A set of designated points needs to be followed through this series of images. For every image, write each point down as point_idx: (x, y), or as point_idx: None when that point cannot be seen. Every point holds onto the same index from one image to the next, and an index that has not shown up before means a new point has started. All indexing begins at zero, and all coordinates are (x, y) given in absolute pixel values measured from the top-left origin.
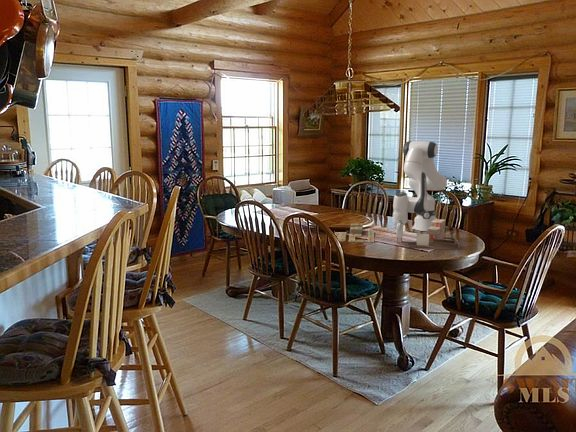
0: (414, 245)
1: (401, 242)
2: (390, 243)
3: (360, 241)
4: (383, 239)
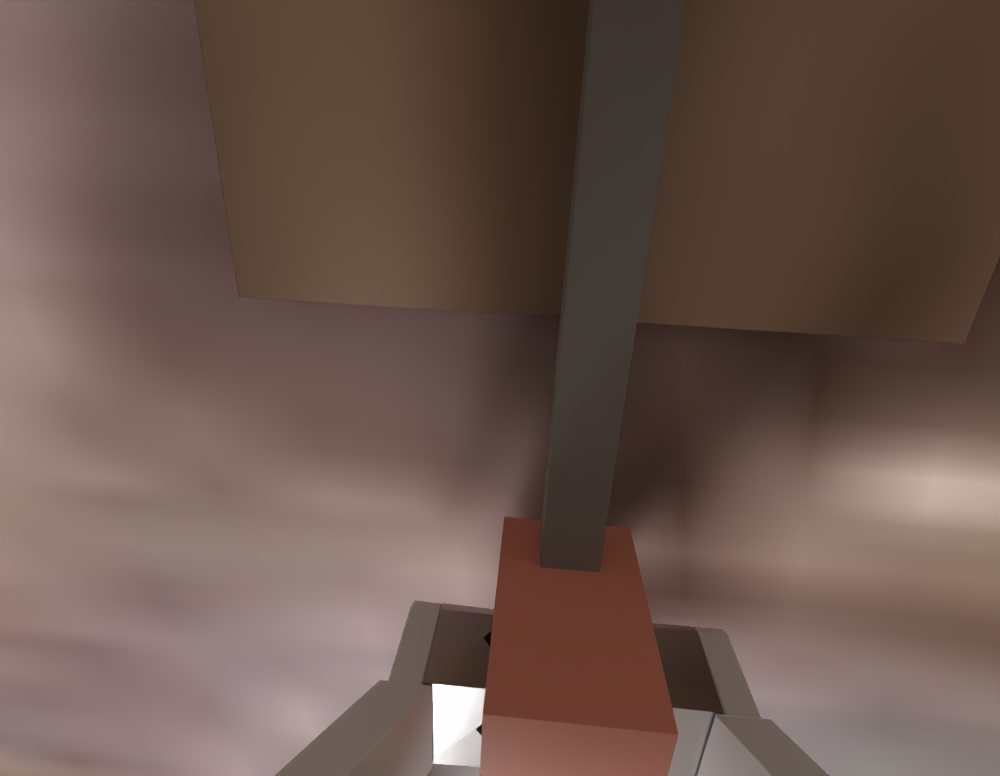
0: (845, 83)
1: (636, 570)
2: None
3: None
4: (77, 758)
